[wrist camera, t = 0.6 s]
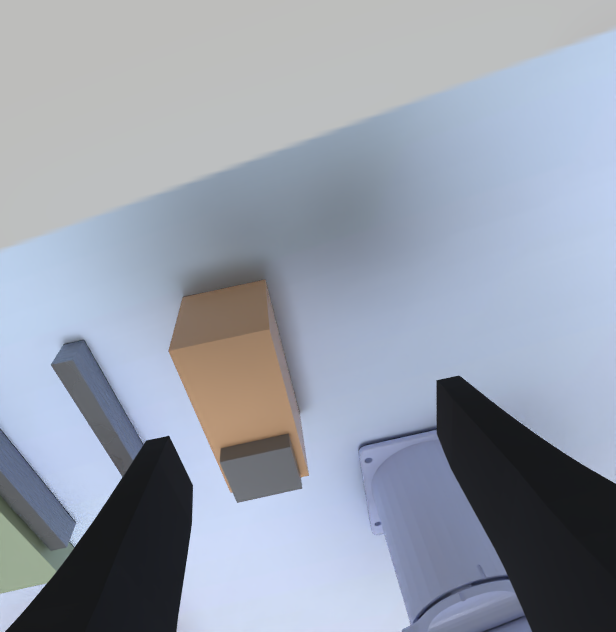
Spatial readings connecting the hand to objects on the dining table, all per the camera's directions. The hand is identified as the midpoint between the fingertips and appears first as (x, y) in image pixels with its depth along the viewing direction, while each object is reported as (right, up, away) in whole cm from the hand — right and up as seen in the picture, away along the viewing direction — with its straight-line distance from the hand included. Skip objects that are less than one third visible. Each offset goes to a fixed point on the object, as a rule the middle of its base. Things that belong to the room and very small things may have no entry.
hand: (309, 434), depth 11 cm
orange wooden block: (-3, +1, +11) cm, 12 cm away
